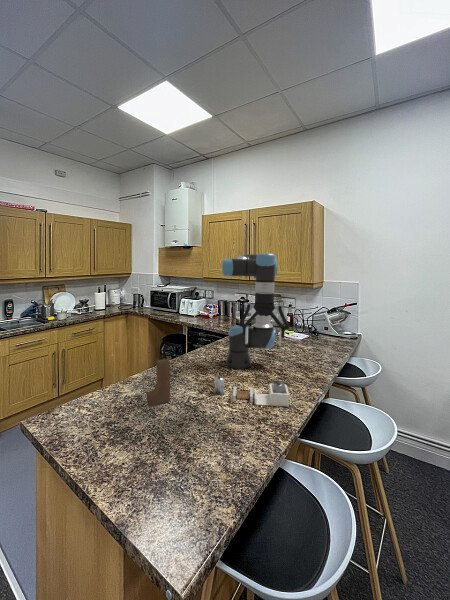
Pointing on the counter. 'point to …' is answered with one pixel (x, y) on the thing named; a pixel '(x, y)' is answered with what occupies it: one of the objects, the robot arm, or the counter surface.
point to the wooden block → (161, 384)
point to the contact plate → (243, 394)
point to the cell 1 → (219, 385)
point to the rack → (272, 397)
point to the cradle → (250, 394)
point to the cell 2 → (279, 387)
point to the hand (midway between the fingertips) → (263, 344)
